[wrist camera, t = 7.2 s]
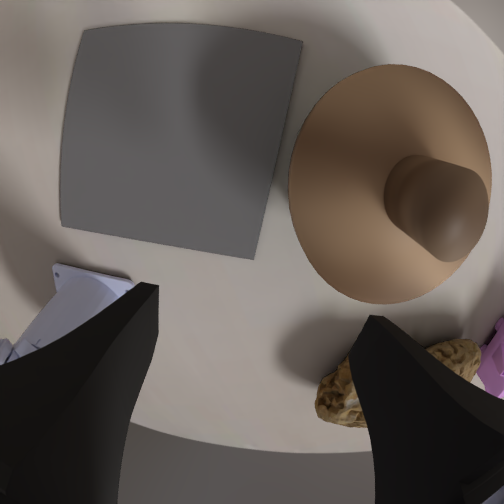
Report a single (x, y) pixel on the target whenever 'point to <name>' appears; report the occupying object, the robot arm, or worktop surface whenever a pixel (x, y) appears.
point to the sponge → (345, 397)
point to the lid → (389, 184)
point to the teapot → (493, 363)
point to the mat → (175, 133)
